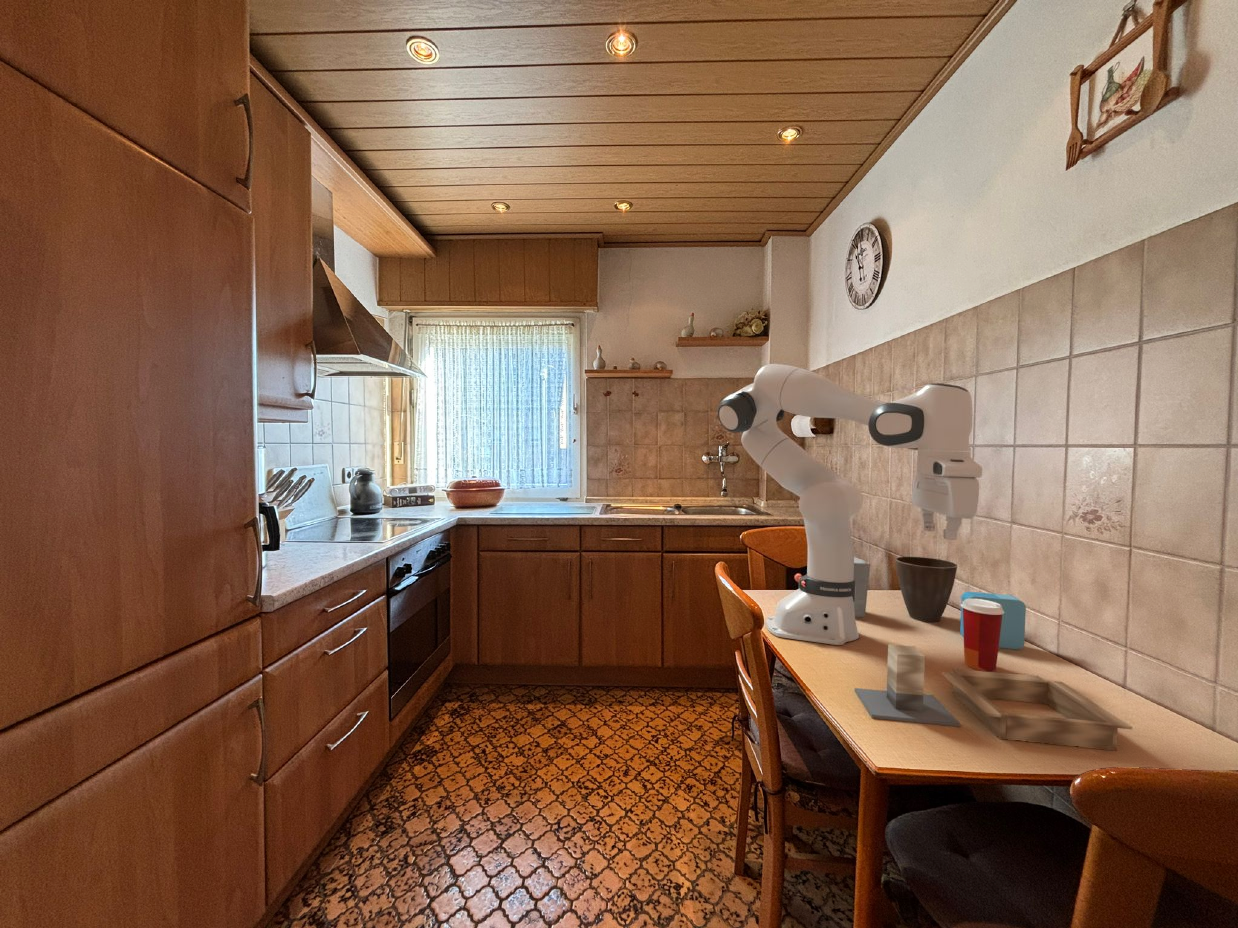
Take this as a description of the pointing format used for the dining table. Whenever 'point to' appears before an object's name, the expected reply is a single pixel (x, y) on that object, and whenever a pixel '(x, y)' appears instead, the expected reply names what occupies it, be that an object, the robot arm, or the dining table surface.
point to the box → (905, 677)
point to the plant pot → (925, 586)
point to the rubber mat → (884, 709)
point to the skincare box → (861, 586)
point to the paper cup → (981, 633)
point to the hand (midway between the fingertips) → (938, 535)
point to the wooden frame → (1080, 729)
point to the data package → (1004, 618)
